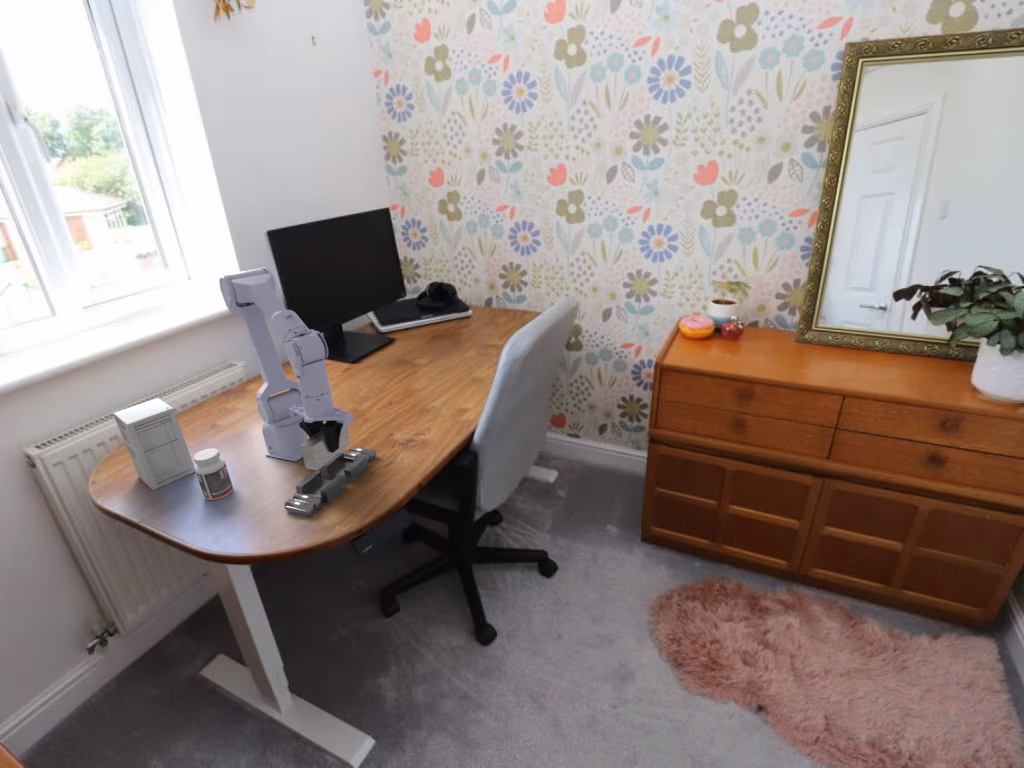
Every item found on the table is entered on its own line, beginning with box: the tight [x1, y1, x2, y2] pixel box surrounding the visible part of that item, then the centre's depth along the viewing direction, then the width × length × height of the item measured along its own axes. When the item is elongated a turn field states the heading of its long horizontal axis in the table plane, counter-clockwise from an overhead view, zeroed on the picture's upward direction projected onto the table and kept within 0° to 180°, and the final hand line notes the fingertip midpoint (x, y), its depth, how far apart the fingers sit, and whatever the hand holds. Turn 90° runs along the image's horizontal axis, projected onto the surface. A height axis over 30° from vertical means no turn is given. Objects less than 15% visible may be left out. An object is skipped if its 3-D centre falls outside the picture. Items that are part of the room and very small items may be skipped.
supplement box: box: [112, 397, 196, 491], centre depth 118 cm, size 10×9×17 cm
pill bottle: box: [193, 447, 234, 501], centre depth 112 cm, size 6×6×10 cm
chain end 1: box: [284, 470, 348, 519], centre depth 110 cm, size 8×11×3 cm
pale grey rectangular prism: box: [300, 424, 351, 471], centre depth 112 cm, size 3×11×6 cm, turn 160°
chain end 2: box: [320, 445, 377, 484], centre depth 121 cm, size 8×11×3 cm
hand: (327, 449), depth 113 cm, fingers closed on pale grey rectangular prism, 3 cm apart
